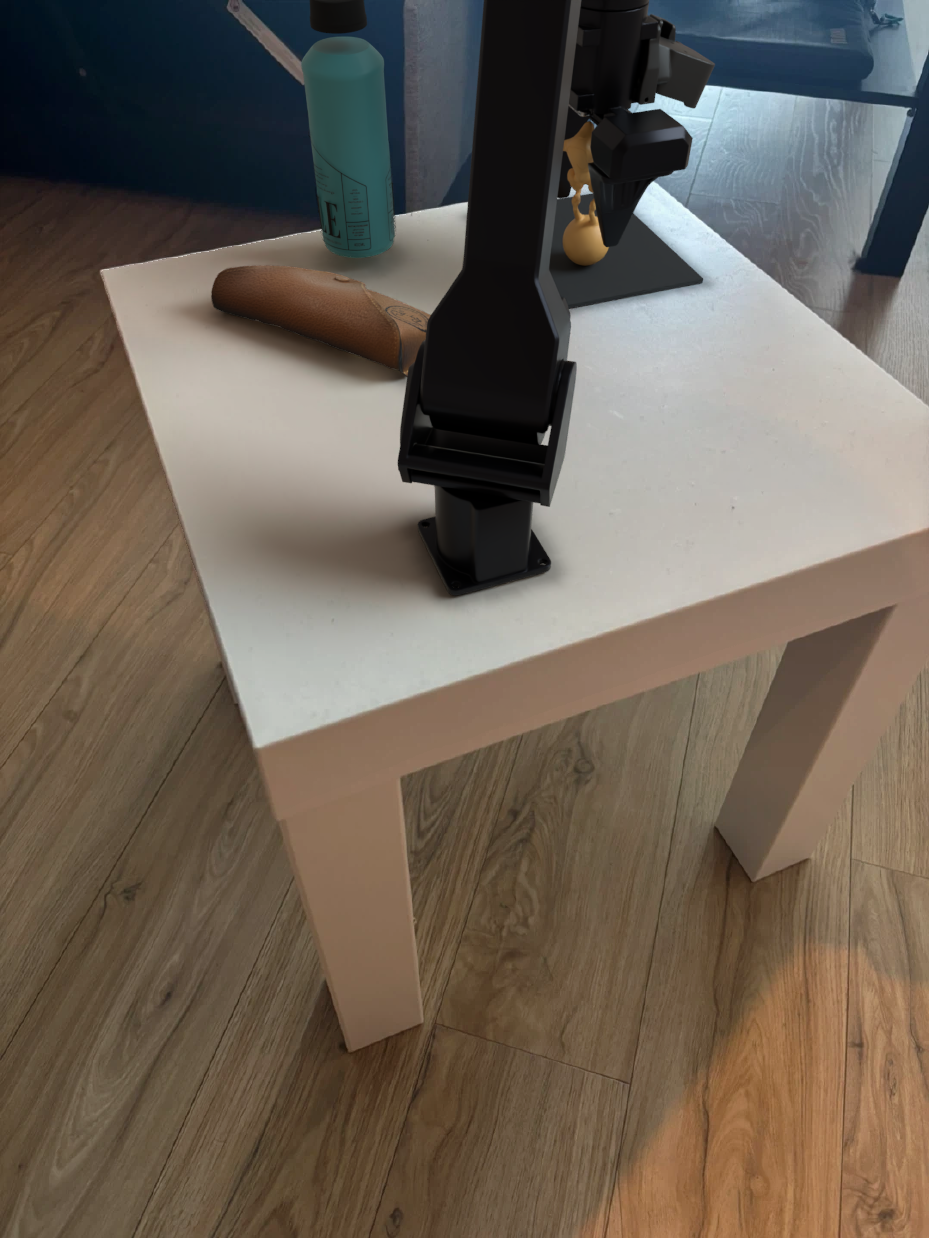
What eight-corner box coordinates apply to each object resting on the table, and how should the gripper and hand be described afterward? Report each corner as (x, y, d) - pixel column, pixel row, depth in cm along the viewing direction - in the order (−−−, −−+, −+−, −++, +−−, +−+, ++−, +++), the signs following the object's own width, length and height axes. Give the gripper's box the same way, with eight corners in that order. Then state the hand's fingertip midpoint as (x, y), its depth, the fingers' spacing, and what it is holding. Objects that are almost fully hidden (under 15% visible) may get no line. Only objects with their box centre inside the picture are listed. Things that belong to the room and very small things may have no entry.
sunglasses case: (459, 324, 73) (435, 274, 67) (420, 402, 73) (392, 358, 66) (277, 267, 79) (239, 216, 73) (238, 338, 79) (197, 293, 72)
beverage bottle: (412, 252, 82) (401, -14, 68) (367, 284, 79) (345, 10, 64) (352, 233, 85) (329, -28, 70) (306, 264, 81) (271, -5, 66)
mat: (702, 283, 79) (703, 278, 79) (550, 312, 76) (550, 308, 75) (608, 194, 90) (609, 190, 90) (472, 217, 87) (472, 213, 87)
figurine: (637, 264, 80) (659, 115, 71) (610, 296, 77) (629, 143, 68) (550, 242, 83) (560, 95, 74) (519, 271, 79) (526, 121, 70)
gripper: (782, 27, 61) (731, 256, 73) (648, -45, 73) (622, 162, 84) (628, 47, 58) (601, 281, 70) (515, -32, 70) (508, 180, 82)
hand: (585, 220), depth 77 cm, fingers open, 9 cm apart
